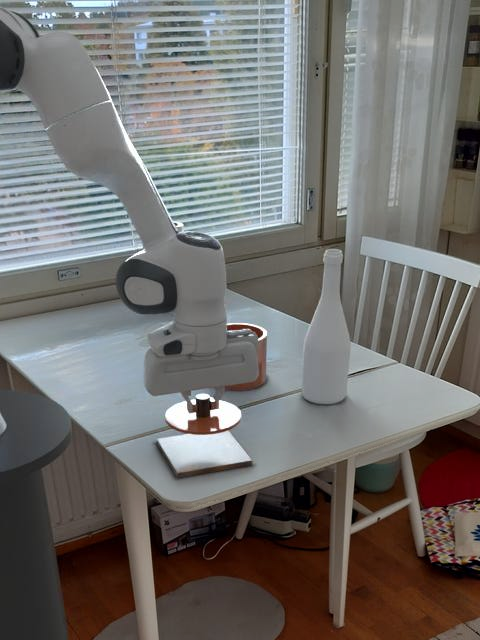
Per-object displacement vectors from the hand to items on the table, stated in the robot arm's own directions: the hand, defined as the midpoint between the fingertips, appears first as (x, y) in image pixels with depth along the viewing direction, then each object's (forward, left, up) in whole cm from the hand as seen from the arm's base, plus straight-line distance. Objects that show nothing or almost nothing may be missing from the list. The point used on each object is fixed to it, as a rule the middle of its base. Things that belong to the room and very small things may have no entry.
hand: (202, 410), depth 139 cm
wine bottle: (+32, +16, -9) cm, 37 cm away
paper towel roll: (+20, +86, -9) cm, 89 cm away
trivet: (0, 0, -9) cm, 9 cm away
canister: (+18, +31, -9) cm, 37 cm away
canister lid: (0, 0, -2) cm, 2 cm away
